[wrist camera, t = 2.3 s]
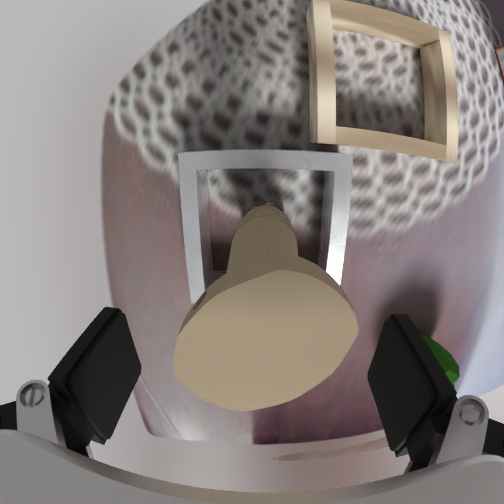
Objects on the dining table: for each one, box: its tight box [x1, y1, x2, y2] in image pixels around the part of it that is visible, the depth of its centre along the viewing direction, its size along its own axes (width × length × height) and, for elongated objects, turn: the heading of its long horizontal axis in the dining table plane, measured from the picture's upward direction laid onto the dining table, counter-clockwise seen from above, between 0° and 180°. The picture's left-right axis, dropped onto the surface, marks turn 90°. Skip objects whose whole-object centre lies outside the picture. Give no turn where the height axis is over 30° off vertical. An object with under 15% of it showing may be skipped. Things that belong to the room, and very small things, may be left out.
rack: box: [306, 0, 458, 164], centre depth 15 cm, size 11×11×4 cm
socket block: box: [178, 149, 353, 303], centre depth 20 cm, size 11×11×4 cm
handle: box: [173, 202, 358, 411], centre depth 15 cm, size 5×6×15 cm
